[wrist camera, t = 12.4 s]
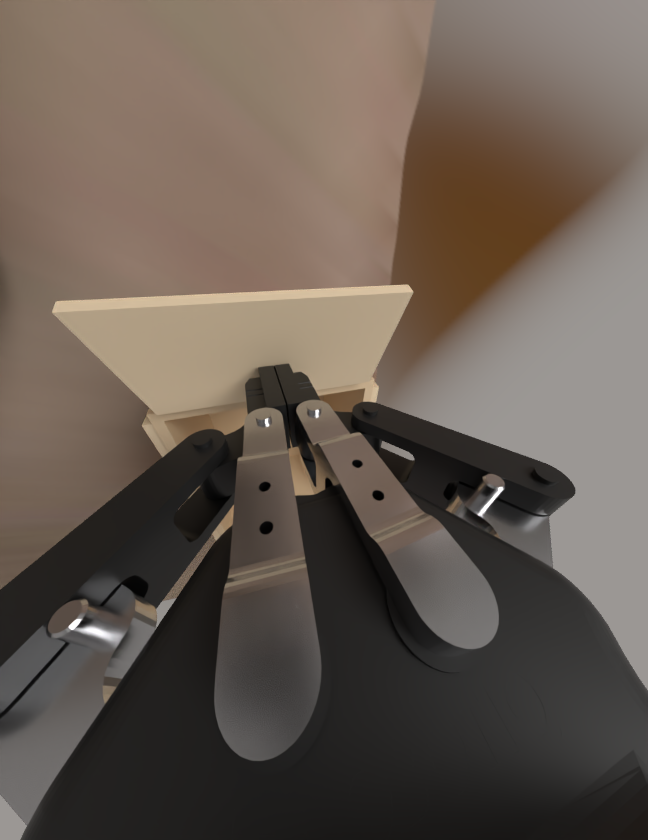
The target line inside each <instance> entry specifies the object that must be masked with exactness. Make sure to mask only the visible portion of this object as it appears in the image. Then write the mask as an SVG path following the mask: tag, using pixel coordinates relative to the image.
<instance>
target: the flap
mask: <svg viewBox="0 0 648 840" xmlns="http://www.w3.org/2000/svg"><path fill="white" fill-rule="evenodd" d="M412 294H413V291H412V290H411V288H410V287H409V285H391V286H369V287H348V288H327V289H306V290H285V291H264V292H243V293H222V294H200V295H179V296H158V297H137V298H116V299H95V300H74V301H56V302H55V305H54V308H53V311H52V313H53V314H54V315H55V316H56V317H57V318H58V319H59V320H60V321H61V322H62V323H63V324H64V325H65V326H66V327H67V328H68V329H69V330H70V331H71V332H72V333H73V334H74V335H75V336H76V337H77V338H78V339H79V340H80V341H82V342H83V343H84V344H85V345H86V346H87V347H88V348H89V349H90V350H91V351H92V352H93V353H94V354H95V355H96V356H97V357H98V358H99V359H100V360H101V361H102V362H103V363H104V364H105V365H106V366H107V367H108V368H109V369H110V370H111V371H112V372H113V373H114V374H115V375H116V376H117V377H118V378H119V379H120V380H121V381H122V382H123V383H124V384H126V385H127V386H128V387H129V388H130V389H131V390H132V391H133V392H134V393H135V394H136V395H137V396H138V397H139V398H140V399H141V400H142V401H143V402H144V403H145V404H146V405H147V406H148V407H149V408H150V409H151V410H152V411H153V412H154V413H155V414H156V415H163V414H169V413H175V412H182V411H188V410H194V409H201V408H207V407H213V406H220V405H226V404H232V403H239V402H245V401H246V391H245V384H246V382H247V381H248V379H250V378H258V377H260V375H259V369H258V367H264V366H272V365H273V366H274V365H280V364H288V363H289V364H290V367H291V369H292V371H293V373H295V372H302V373H304V374H305V375H307V376H308V378H309V380H310V382H311V383H312V385H313V387H314V389H315V390H321V389H327V388H334V387H340V386H346V385H353V384H359V383H365V382H369V381H370V379H371V377H372V375H373V373H374V371H375V369H376V367H377V365H378V363H379V361H380V359H381V357H382V354H383V353H384V351H385V349H386V347H387V345H388V343H389V341H390V338H391V336H392V334H393V332H394V331H395V328H396V326H397V324H398V322H399V320H400V318H401V316H402V314H403V312H404V310H405V308H406V306H407V304H408V302H409V300H410V298H411V296H412Z"/></svg>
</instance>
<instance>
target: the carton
mask: <svg viewBox="0 0 648 840" xmlns="http://www.w3.org/2000/svg"><path fill="white" fill-rule="evenodd" d="M378 389H379V386H378V385H377V384H376V383H375V382H374V378H373V377H371V379H370V381H369V382H365V383H359V384H353V385H346V386H340V387H334V388H327V389H321V390H315V391H316V393H317V394H318V396H319V398H320V400H321V401H324V402H326V403H328V404H329V405H330V406H331V408H332V409H333V411H338V412H352V409H353V407H354V406H355V405H356V404H358V403H360V402H375V403H376V399H377V394H378ZM247 415H248V412H247V402H246V401H245V402H239V403H232V404H226V405H220V406H213V407H207V408H201V409H194V410H188V411H182V412H175V413H169V414H163V415H156V414H155V413H154V412H153V411H152V410H151V409H150V408H149V410H148V412H147V414H146V417H145V420H144V422H143V424H142V427H143V428H144V430H145V431H146V433H147V435H148V436H149V438H150V439H151V441H152V442H153V444H154V445H155V447H156V448H157V450H158V452H159V453H160V455H161V456H162V457H164V456H165V455H166V454H167V453H168V452H170V451H171V450H172V449H173V448H175V447H176V446H177V445H178V444H179V443H181V442H182V441H183V440H184V439H186V438H187V437H188V436H190V435H191V434H193V433H195V432H198V431H201V430H205V429H216V430H219V431H221V432H222V433H223V434H224V435H227V434H229V433H232V432H234V431H236V430H238V429H240V428H241V427H242V426H243V425H244V422H245V418H246V416H247ZM290 444H291V441H290ZM288 450H289V459H290V465H291V472H292V478H293V484H294V491H295V495H314V492H313V489H312V487H311V485H310V482H309V480H308V477H307V475H306V473H305V470H304V468H303V465H302V463H301V460H300V451H299V448H298V447H293V448H292V445H291V448H289V449H288ZM199 487H200V486H199ZM199 487H198V488H199ZM198 488H197V489H198ZM197 489H196V490H197ZM196 490H195V491H196ZM195 491H194V492H193V493H192V494H191V495H190V497H191V496H192V495H193V494H194V493H195ZM190 497H189V498H190ZM233 513H234V505H233V506H232V508H231V509H230V510H229V512H228V513H227V514H226V516H225V517H224V519H223V520H222V521H221V523H220V524H219V525H218V527H217V528H216V529H215V531H214V532H213V533H212V535H213V536H214V538H215V539H216V541H217V539H218V538H219V537H220V536H221V535H222V534H223V533H224V532H225V531H226V530H227V529H228V528H229V527H231V526H232V525H233Z"/></svg>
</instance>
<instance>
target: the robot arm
mask: <svg viewBox="0 0 648 840" xmlns="http://www.w3.org/2000/svg"><path fill="white" fill-rule="evenodd" d="M258 369H259V375H260V377H258V378H250V379H248V381H247V382H246V384H245V391H246V402H247V412H248V415H247V416H246V418H245V422H244V425H243V426H242V427H241V428H240V429H238V430H236V431H234V432H232V433H229V434H227V435H224V434H223V433H222V432H221V431H219V430H216V429H205V430H201V431H198V432H195V433H193V434H191V435H190V436H188V437H187V438H186V439H184V440H183V441H182V442H181V443H179V444H178V445H177V446H176V447H175V448H173V449H172V450H171V451H170V452H168V453H167V454H166V455H165V456H164V457H162V458H161V459H160V460H159V461H157V462H156V463H155V464H154V465H153V466H151V467H150V468H149V469H148V470H146V471H145V472H144V473H143V474H142V475H140V476H139V477H138V478H137V479H135V480H134V481H133V482H132V483H130V484H129V485H128V486H127V487H126V488H124V489H123V490H122V491H121V492H119V493H118V494H117V495H116V496H115V497H113V498H112V499H111V500H110V501H108V502H107V503H106V504H105V505H104V506H102V507H101V508H100V509H99V510H97V511H96V512H95V513H94V514H93V515H91V516H90V517H89V518H88V519H86V520H85V521H84V522H83V523H82V524H80V525H79V526H78V527H77V528H75V529H74V530H73V531H72V532H70V533H69V534H68V535H67V536H66V537H64V538H63V539H62V540H61V541H59V542H58V543H57V544H56V545H55V546H53V547H52V548H51V549H50V550H48V551H47V552H46V553H45V554H44V555H42V556H41V557H40V558H39V559H37V560H36V561H35V562H34V563H33V564H31V565H30V566H29V567H28V568H26V569H25V570H24V571H23V572H22V573H20V574H19V575H18V576H17V577H15V578H14V579H13V580H12V581H11V582H9V583H8V584H7V585H6V586H4V587H3V588H2V589H1V590H0V795H1V796H2V797H3V798H4V799H5V800H6V802H8V804H9V805H10V806H11V807H12V809H13V810H14V811H15V812H16V813H17V814H18V816H19V817H20V818H21V819H22V820H23V822H24V823H25V824H26V825H27V827H26V829H25V831H24V833H23V835H22V838H21V840H648V690H647V689H646V688H645V686H644V685H643V683H642V682H641V680H640V679H639V677H638V676H637V674H636V673H635V671H634V669H633V668H632V666H631V665H630V663H629V661H628V660H627V658H626V656H625V655H624V653H623V651H622V649H621V647H620V646H619V644H618V642H617V640H616V638H615V637H614V635H613V633H612V631H611V630H610V628H609V626H608V624H607V623H606V622H605V620H604V619H603V617H602V616H601V614H600V613H599V612H598V610H597V609H596V608H595V607H594V605H593V604H592V603H591V602H590V601H589V600H588V598H587V597H586V596H585V595H584V594H583V593H582V592H581V591H580V590H579V589H578V588H577V587H576V586H575V585H574V584H573V583H571V582H570V581H569V580H568V579H567V578H565V577H564V576H563V575H562V574H560V573H559V572H558V571H556V570H555V569H553V561H552V550H551V538H550V525H549V516H550V515H551V514H552V513H553V512H555V511H556V510H557V509H558V508H559V507H561V506H562V505H563V504H564V503H565V502H567V501H568V500H569V499H570V498H572V497H573V496H574V494H575V487H574V485H573V484H572V482H571V481H570V480H569V479H568V477H566V476H565V475H564V474H563V473H562V472H560V471H559V470H557V469H556V468H554V467H552V466H550V465H548V464H546V463H543V462H540V461H538V460H535V459H532V458H529V457H526V456H523V455H520V454H518V453H515V452H512V451H510V450H507V449H504V448H501V447H498V446H496V445H493V444H490V443H487V442H484V441H481V440H479V439H476V438H473V437H470V436H468V435H465V434H462V433H459V432H456V431H454V430H451V429H448V428H445V427H442V426H440V425H437V424H434V423H431V422H428V421H426V420H423V419H420V418H417V417H414V416H412V415H409V414H406V413H403V412H400V411H398V410H395V409H392V408H389V407H386V406H384V405H381V404H378V403H375V402H360V403H358V404H356V405H355V406H354V407H353V409H352V412H338V411H333V409H332V408H331V406H330V405H329V404H328V403H326V402H324V401H321V400H320V398H319V396H318V394H317V393H316V391H315V389H314V387H313V385H312V383H311V382H310V380H309V378H308V376H307V375H305V374H304V373H302V372H295V373H293V371H292V369H291V367H290V364H289V363H288V364H280V365H274V366H273V365H272V366H264V367H258ZM290 441H291V444H290ZM382 441H385V442H387V443H389V444H392V445H394V446H396V447H399V448H401V449H403V450H406V451H408V452H410V453H411V454H412V455H413V456H414V458H415V460H414V461H412V460H408V459H406V458H404V457H401V456H399V455H397V454H395V453H392V452H390V451H388V450H385V449H383V448H381V443H382ZM291 445H292V448H293V447H298V448H299V451H300V460H301V463H302V465H303V468H304V470H305V473H306V475H307V477H308V480H309V482H310V485H311V487H312V489H313V492H314V495H295V491H294V484H293V478H292V472H291V465H290V459H289V450H288V449H289V448H291ZM199 486H200V487H199ZM198 487H199V488H198ZM197 488H198V489H197ZM196 489H197V490H196ZM195 490H196V491H195ZM194 491H195V493H194V494H193V495H192V496H191V497H190V495H191V494H192V493H193V492H194ZM189 497H190V498H189ZM188 498H189V499H188ZM187 499H188V500H187ZM186 500H187V501H186ZM185 501H186V502H185ZM184 502H185V503H184ZM183 503H184V504H183ZM182 504H183V505H182ZM181 505H182V506H181ZM233 505H234V513H233V525H232V526H231V527H229V528H228V529H227V530H226V531H225V532H224V533H223V534H222V535H221V536H220V537H219V538H218V539H217V541H216V542H215V543H214V544H213V546H212V547H211V548H210V550H209V551H208V553H207V554H206V556H205V557H204V559H203V560H202V562H201V563H200V565H199V566H198V568H197V569H196V570H195V572H194V573H193V575H192V576H191V578H190V579H189V581H188V582H187V584H186V585H185V587H184V588H183V590H182V591H181V593H180V594H179V596H178V597H177V599H176V600H175V602H174V603H173V604H172V606H171V607H170V609H169V610H168V612H167V613H166V615H165V616H164V618H163V619H162V621H161V622H160V624H159V625H158V627H157V628H156V623H157V613H156V608H157V607H158V606H159V604H160V603H161V602H162V600H163V599H164V598H165V596H166V595H167V594H168V592H169V591H170V590H171V588H172V587H173V586H174V584H175V583H176V582H177V580H178V579H179V578H180V576H181V575H182V574H183V572H184V571H185V570H186V568H187V567H188V566H189V564H190V563H191V561H192V560H193V559H194V557H195V556H196V555H197V553H198V552H199V551H200V549H201V548H202V547H203V545H204V544H205V543H206V541H207V540H208V539H209V537H210V536H211V535H212V533H213V532H214V531H215V529H216V528H217V527H218V525H219V524H220V523H221V521H222V520H223V519H224V517H225V516H226V514H227V513H228V512H229V510H230V509H231V508H232V506H233ZM180 506H181V508H180V509H179V507H180ZM178 509H179V510H178ZM177 510H178V511H177ZM155 628H156V630H155Z"/></svg>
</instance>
